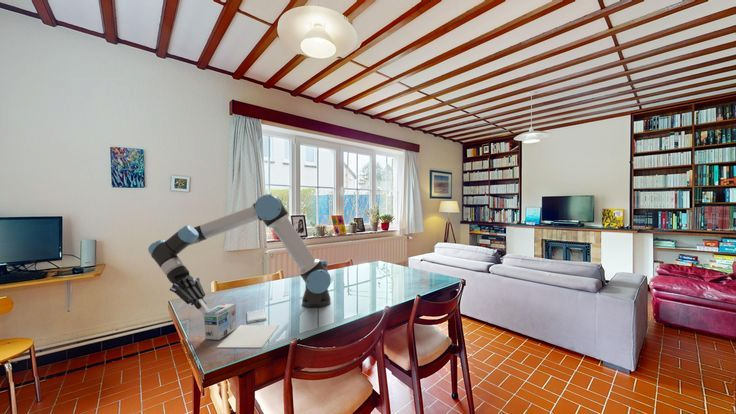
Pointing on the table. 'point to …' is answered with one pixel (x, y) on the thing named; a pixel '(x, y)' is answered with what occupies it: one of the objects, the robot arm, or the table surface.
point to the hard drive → (256, 316)
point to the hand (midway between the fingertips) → (206, 313)
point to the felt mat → (249, 336)
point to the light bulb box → (220, 321)
